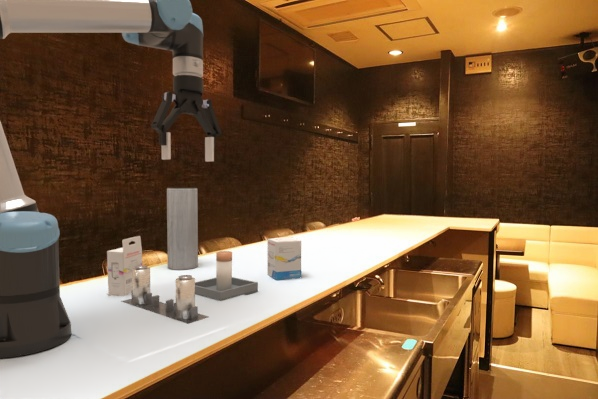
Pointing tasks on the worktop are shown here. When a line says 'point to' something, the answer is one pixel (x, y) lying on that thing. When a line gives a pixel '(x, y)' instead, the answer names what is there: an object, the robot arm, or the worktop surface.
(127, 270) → the ink cartridge box
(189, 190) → the vase
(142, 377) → the worktop surface
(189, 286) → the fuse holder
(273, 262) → the ink box
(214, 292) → the tray
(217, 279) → the cylinder
